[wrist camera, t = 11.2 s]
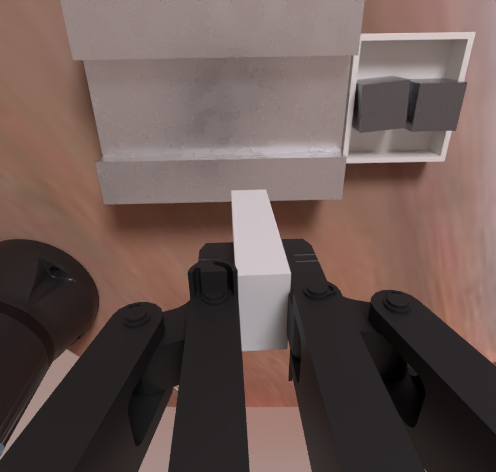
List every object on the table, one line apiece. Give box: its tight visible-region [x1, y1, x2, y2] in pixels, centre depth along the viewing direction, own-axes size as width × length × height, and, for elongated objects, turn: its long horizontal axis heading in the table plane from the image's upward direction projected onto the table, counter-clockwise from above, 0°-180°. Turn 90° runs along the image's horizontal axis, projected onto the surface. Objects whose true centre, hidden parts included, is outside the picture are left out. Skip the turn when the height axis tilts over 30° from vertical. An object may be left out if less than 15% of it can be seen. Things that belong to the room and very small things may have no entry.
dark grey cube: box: [405, 78, 467, 132], centre depth 34 cm, size 4×4×4 cm
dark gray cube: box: [352, 76, 410, 133], centre depth 33 cm, size 4×4×4 cm
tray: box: [341, 32, 476, 163], centre depth 34 cm, size 11×10×3 cm
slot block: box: [60, 0, 365, 204], centre depth 33 cm, size 16×22×6 cm
